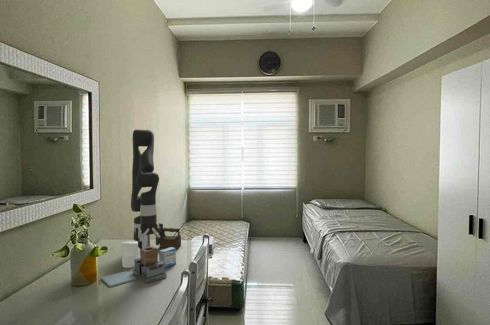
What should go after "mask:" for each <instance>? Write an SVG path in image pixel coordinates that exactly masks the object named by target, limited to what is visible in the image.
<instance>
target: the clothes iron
mask: <svg viewBox="0 0 490 325" xmlns="http://www.w3.org/2000/svg"><path fill="white" fill-rule="evenodd" d="M180 230H181V229H180V228H173V227H169V228H167V227H163V234H164V235H163V236H161V237H160V244H159V248H160V249H161V250H163V249H166V248H169V247H173V248H176V251H177V250H178V249H179V248H180V247H181V246H182V235H181V234H180ZM156 231H157V232H158V234H159V228H158V227H157V228H156ZM165 232H169V233H177V235H169V236H168V235H166V233H165Z"/></svg>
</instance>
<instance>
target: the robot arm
mask: <svg viewBox="0 0 490 325" xmlns="http://www.w3.org/2000/svg"><path fill="white" fill-rule="evenodd" d="M154 134H155V133H154V132H153V130H150V129H134V130H133V132H132V166H131V167H132V169H131V173H132V174H131V176H132V177H131V186H132V187H131V197H130V210H131V211H132V212H134V213H135V212H137V213H138V212H139V213H140V214H139V215H138V216H136V217H134V218H133V242H138V248H139V249H140V254H141V249H142V248H147V247H151V235H154V236H155V245H156V246H160V237H161V236H163V235H164V234H163V228H164V224H163V223H161V222H158V224H157V218H158V216H157V214H158V213H157V212H158V211H157V202H156V200H157V199H156V198H157V190H158V186H159V182H160V176H159V174H158V173H157V172H154V170H155V165H154V152H155V135H154ZM139 147H146V149H144V151H143V152H141V150H140V148H139ZM142 188H150V189H149V190H148V191H143V192H141V190H142ZM140 192H141V193H140ZM139 193H140V195H139ZM157 227H158V228H159V233H158V232H157V231H156V228H157Z"/></svg>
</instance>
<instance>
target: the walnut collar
mask: <svg viewBox="0 0 490 325" xmlns="http://www.w3.org/2000/svg"><path fill="white" fill-rule="evenodd" d="M140 258H141V263H142V264H143V265H149V264H153V263H157V262H159V251H158V248H156V247H154V246H151V245H150V247H147V248H142V249H141V253H140Z"/></svg>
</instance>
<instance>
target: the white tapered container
mask: <svg viewBox="0 0 490 325" xmlns="http://www.w3.org/2000/svg"><path fill="white" fill-rule="evenodd" d="M121 258H122V259H121V260H122V261H121V266H122V267H123V268H125V269H126V268H127V269H129V268H130V269H131V268H134V259H138V258H141V253H140V249H139V248H138V242H134V241H126V240H125V241H122V242H121Z"/></svg>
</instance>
